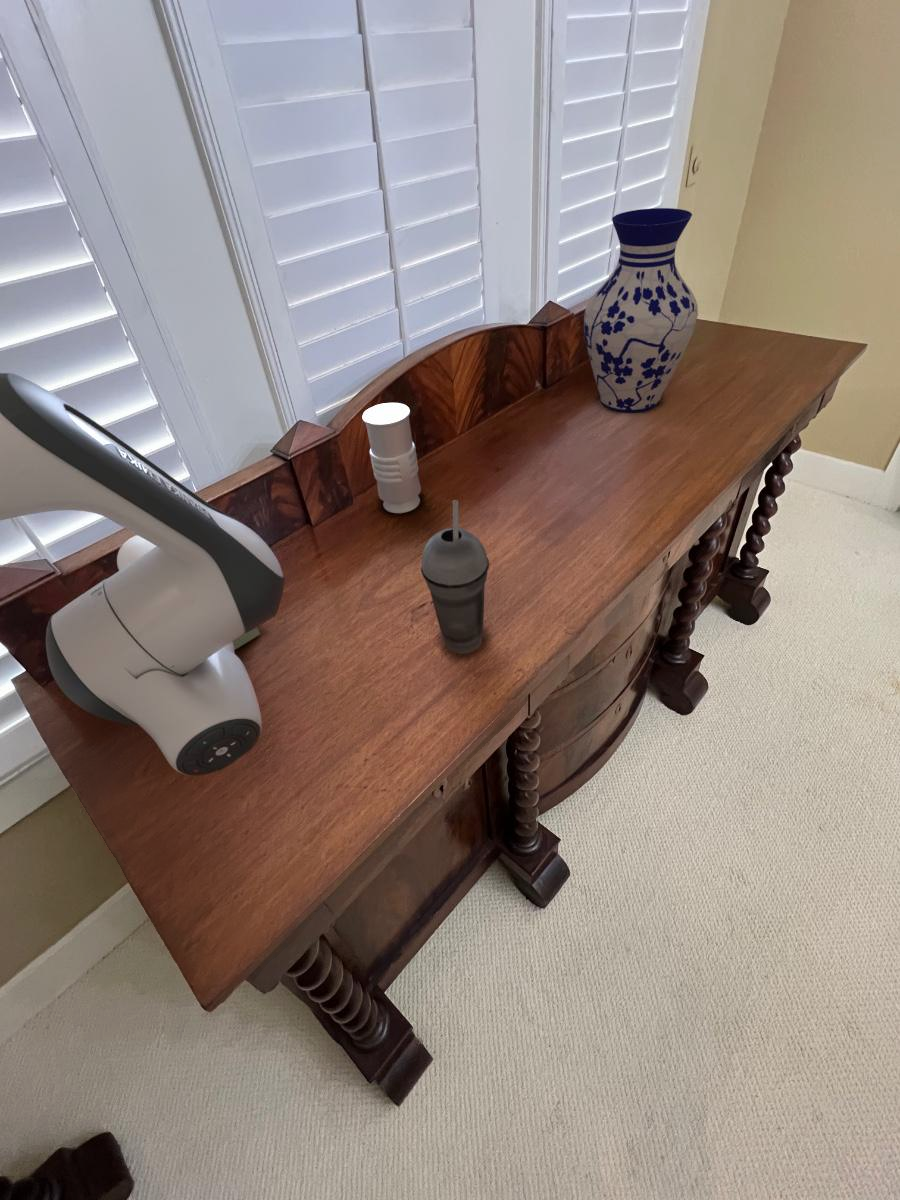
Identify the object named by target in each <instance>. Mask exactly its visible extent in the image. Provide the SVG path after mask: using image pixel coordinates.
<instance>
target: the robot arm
mask: <svg viewBox="0 0 900 1200" xmlns="http://www.w3.org/2000/svg"><path fill="white" fill-rule="evenodd" d="M57 511H78V512H87V513H92V514H96V515H99V516H102V517H104V518H106V519H108V520H110V521H112V522H113V523H115V524H117V525H119V526H121V527H122V528H124V529H125V530H127V531H129V532H130V533H133V534H135V536H136V535H138V536H140V537H141V538H143V539H145V540H147V541H148V542H150V543H152V544H154V545H155V546H156V547H155V548H153V549H152V550H150V551H149V552H147V553H146V554H144V555H143V556H141V557H139V558H138V559H136V560H135V561H133V562H132V563H130V564H129V565H127V566H126V567H124V568H123V569H121V570H120V571H119V570H118V571H117V572H115V573H113V574H112V575H110V576H109V577H107V578H105V579H103V580H102V581H100V582H99V583H97V584H96V585H94V586H93V587H91V588H90V589H88V590H86V591H85V592H84V593H82V594H80V595H79V596H78V597H76V598H75V599H73V600H72V601H70V602H69V603H67V604H66V605H64V606H63V607H61V608H60V609H59V610H58V611H56V612H55V613H53V614H51V616H50V618H49V620H48V622H47V626H46V631H45V650H46V657H47V662H48V666H49V669H50V672H51V675H52V677H53V678H54V681H55V683H56V684H57V686H58V687H59V689H60V690H61V691H62V693H63V694H64V695H65V696H66V697H67V698H68V699H69V700H70V701H71V702H73V703H74V704H75V705H76V706H78V707H79V708H81V709H82V710H84V711H85V712H87V713H89V714H91V715H93V716H95V717H97V718H100V719H104V720H107V721H112V722H116V723H119V724H124V725H127V726H132V727H140V728H141V729H142V730H143V731H145V733H146V734H148V736H149V737H150V738H152V740H153V741H154V743H155V744H156V745H157V747H158V748H159V750H160V751H161V753H162V755H163V756H164V758H165V760H166V761H167V763H168V764H169V765H170V766H171V768H172V769H174V770H175V771H176V772H177V773H179V774H182V775H184V776H187V777H189V776H190V777H199V776H205V775H210V774H213V773H216V772H219V771H221V770H222V771H223V770H224V769H226V768H227V767H229V766H230V765H232V764H234V763H235V762H237V761H238V760H239V759H241V758H242V757H243V756H245V755H246V754H247V753H248V752H249V751H250V750H252V749H253V747H254V746H255V745H256V744H257V742H259V739H260V737H261V734H262V730H263V719H262V713H261V709H260V705H259V700H258V698H257V694H256V692H255V688H254V686H253V683H252V681H251V678H250V675H249V673H248V671H247V669H246V667H245V665H244V663H243V661H242V660H241V659H240V658H239V656H238V655H236V653H235V652H236V651H235V650H234V645H233V640H235V639H236V638H238V637H239V636H240V635H242V634H243V633H244V634H246V633H248V632H249V631H251V630H253V629H254V628H256V627H257V628H258V627H260V626H261V625H263V624H265V623H267V622H268V621H270V620H272V619H273V618H275V617H276V616H277V614H278V611H279V609H280V604H281V601H282V598H283V594H284V589H285V582H286V577H285V573H284V572H283V570H282V568H281V564H280V562H279V560H278V558H277V557H276V555H275V554H274V551H272V549H271V548H270V546H269V545H268V544H267V543H266V542H265V540H264V539H263V538H261V536H260V535H259V534H257V533H256V532H255V531H254V530H253V529H252V528H250V527H248V526H247V525H245V524H244V523H242V522H240V521H239V520H237V519H236V518H235V517H233V516H231V515H230V514H228V513H226V512H225V511H223V510H221V509H219V508H217V506H216V507H215V506H214V505H212V504H210V503H209V502H207V501H206V500H204V498H203V499H202V497H200V496H199V495H198V494H196V493H195V492H193V491H192V490H190V489H189V488H188V487H186V486H185V485H184V484H182V483H180V482H179V481H178V480H177V479H176V478H174V477H173V476H171V475H170V474H168V473H167V472H166V471H164V470H163V469H161V468H160V466H157V465H156V464H155V463H153V462H152V461H151V460H150V459H148V458H146V457H145V456H144V455H142V454H141V453H140V452H139V451H137V450H135V448H133V447H132V446H130V445H129V444H127V443H126V442H124V440H122V439H121V438H119V437H117V436H116V435H115V434H113V433H112V432H111V431H109V430H108V429H106V428H105V427H103V426H102V425H100V423H98V422H96V421H95V420H94V419H92V418H91V417H89V416H88V415H86V414H85V413H83V412H82V411H80V410H79V409H77V407H74V406H73V405H72V404H70V403H68V402H67V401H65V400H64V399H62V398H60V397H59V396H57V395H56V394H54V393H52V392H51V391H49V390H47V389H46V388H44V387H42V386H40V385H38V384H36V383H35V382H33V381H30V380H28V379H26V378H24V377H23V376H20V375H18V374H16V373H12V372H0V521H4V520H9V519H14V518H19V517H24V516H29V515H33V514H34V515H35V514H41V513H48V512H57Z"/></svg>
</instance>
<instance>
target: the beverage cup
mask: <svg viewBox="0 0 900 1200" xmlns="http://www.w3.org/2000/svg"><path fill="white" fill-rule="evenodd" d="M487 554H488V553H487V552H486V549H485V547H484V545H483V543H482V541H481V540H480V539H479V538H478V537H477V536H476V535H475V534H473V533H472V532H470V531H468V530H466V529H464V528H461V527H460V528H459V501H458V500H452V527H449V528H444V529H442V530H440V531H438V532H437V533H435V534H434V535H432V536H431V537H430V538H429V540H428V541H427V542H426V545H425V546H424V548H423V552H422V557H421V568H420V573H421V575H422V578H423V579H424V580H425V581H424V582H425V583H426V586H427V589H428V590H429V593H430V597H431V600H432V604H433V607H434V610H435V614H436V618H437V622H438V626H439V629H440V633H441V636H442V638H443V640H444V644H445V647H446V648H447V649H448V650H449V651H450V652H452V653H455V654H460V655H462V654H463V655H466V654H469V653H472V652H474V651H477V649H479V647H481V645H482V642H483V633H484V612H485V589H486V588H485V586H486V582H487V578H488V570H489V568H490V561H489V557H488V555H487Z"/></svg>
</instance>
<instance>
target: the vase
mask: <svg viewBox="0 0 900 1200" xmlns="http://www.w3.org/2000/svg"><path fill="white" fill-rule="evenodd" d="M692 217H693V214H692V212H691V211H690V210H686V209H683V208H675V207H674V208H673V207H672V208H671V207H654V208H653V207H652V208H642V209H634V210H628V211H624V212H620V213H617V214H615V215H614V216H613V217H612V218H611V221H612V225H613V227H614V229H615V232H616V235H617V238H618V241H619V257H618V261H617V265H616V266H615V267H614V270H613V271H612V273H611V274H610V275H609V277H608V278H607V279H606V280H605V281H604V283H603V284H601V286H600V287H599V288H598V289H597V290H596V291H595V293H594V294H593V295H592V296H591V298H590V299H589V301H588V302H587V305H586V307H585V310H584V314H583V332H584V338H585V343H586V348H587V353H588V357H589V360H590V365H591V370H592V373H593V377H594V380H595V381H594V382H595V385H596V388H597V393H598V396H599V402H600V403H601V404H600V405H602V406H603V407H604V408H606V409H609V410H611V411H615V412H619V413H627V414H628V413H630V414H631V413H641V412H646V411H650V410H651V409H652V410H653V408H656V406H658V405H659V403H660V401H661V398H662V397H663V395H664V393H665V392H666V389H667V387H668V385H669V383H670V381H671V380H672V378H673V376H674V374H675V371H676V369H677V367H678V366H679V363H680V362H681V360H682V358H683V356H684V353H685V352H686V350H687V348H688V344H689V343H690V341H691V338H692V337H693V334H694V331H695V328H696V324H697V320H698V316H699V307H698V306H699V305H698V303H697V299H696V297H695V295H694V293H693V292H692V290H691V289H690V287H689V285H688V284H687V282H685V280H684V279H683V277H682V276H681V274H680V272H679V270H678V267H677V265H676V258H675V256H676V248H677V244H678V241H679V239H680V237H681V235H683V232H684V231H685V228H686V227H687V226H688V223H690V220H691V218H692Z"/></svg>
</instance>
